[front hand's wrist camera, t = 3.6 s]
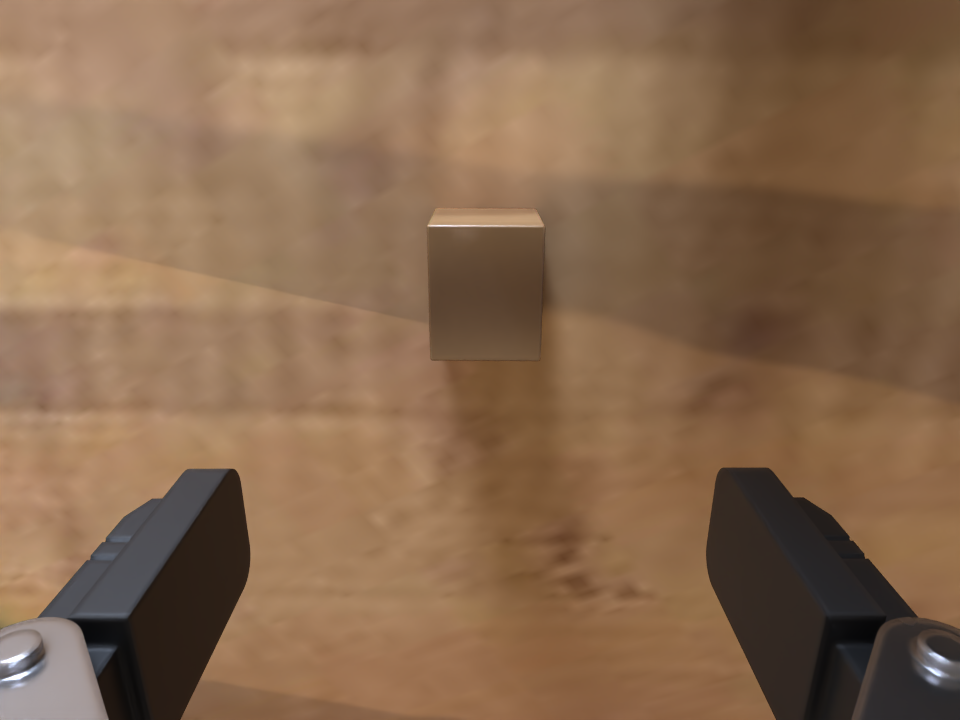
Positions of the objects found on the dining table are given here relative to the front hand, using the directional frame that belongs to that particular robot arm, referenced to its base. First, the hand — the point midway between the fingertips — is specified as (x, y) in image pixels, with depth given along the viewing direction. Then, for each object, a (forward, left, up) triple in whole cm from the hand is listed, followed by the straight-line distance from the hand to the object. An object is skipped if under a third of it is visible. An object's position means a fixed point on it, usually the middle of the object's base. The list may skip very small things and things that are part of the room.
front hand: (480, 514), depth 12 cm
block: (0, 0, -18) cm, 18 cm away
